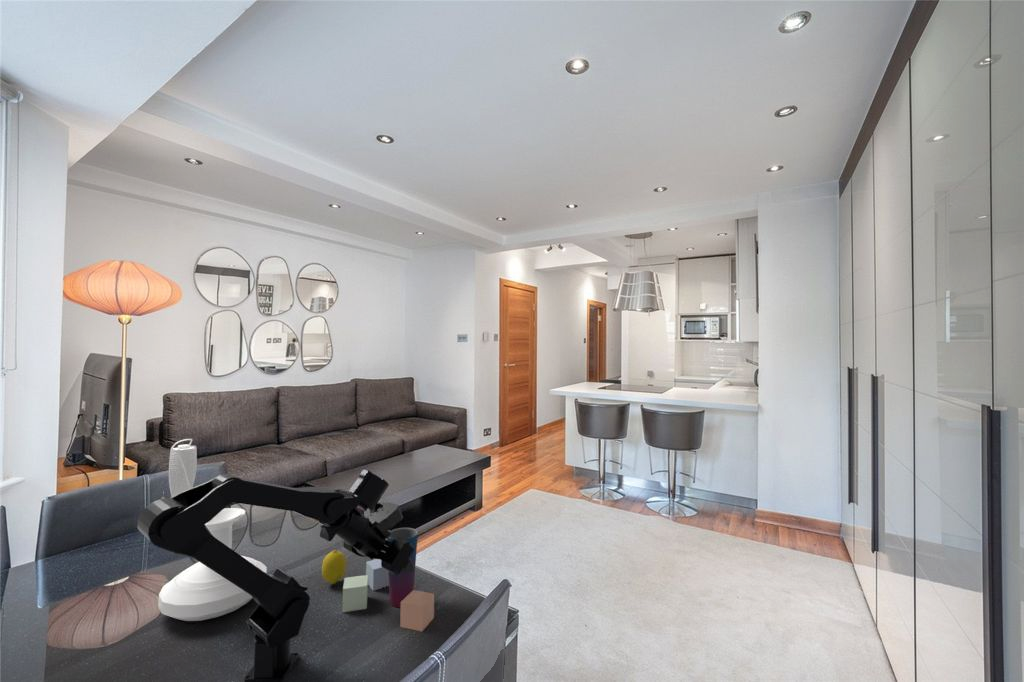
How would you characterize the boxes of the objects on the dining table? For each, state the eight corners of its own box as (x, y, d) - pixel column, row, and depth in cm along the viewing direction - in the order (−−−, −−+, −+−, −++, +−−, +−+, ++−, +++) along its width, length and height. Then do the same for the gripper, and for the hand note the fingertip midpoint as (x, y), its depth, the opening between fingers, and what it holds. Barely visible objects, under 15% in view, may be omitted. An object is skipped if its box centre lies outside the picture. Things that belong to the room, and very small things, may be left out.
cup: (383, 596, 99) (384, 530, 100) (413, 590, 102) (414, 525, 103) (388, 612, 93) (389, 541, 94) (419, 605, 96) (420, 536, 97)
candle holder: (135, 639, 84) (140, 538, 85) (183, 587, 103) (187, 505, 104) (251, 623, 89) (254, 528, 90) (276, 576, 108) (279, 498, 109)
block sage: (366, 609, 95) (367, 585, 95) (342, 612, 93) (342, 589, 93) (367, 597, 99) (367, 574, 100) (344, 600, 98) (344, 577, 98)
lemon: (337, 591, 102) (338, 556, 102) (316, 588, 103) (317, 554, 103) (350, 579, 107) (351, 546, 108) (330, 577, 108) (331, 544, 109)
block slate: (393, 584, 105) (393, 563, 105) (373, 591, 102) (373, 569, 102) (385, 576, 109) (386, 556, 109) (365, 582, 106) (366, 561, 106)
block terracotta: (422, 632, 87) (422, 606, 87) (400, 627, 88) (400, 602, 89) (433, 618, 92) (434, 593, 92) (413, 613, 93) (413, 589, 93)
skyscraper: (172, 524, 142) (176, 438, 143) (200, 523, 143) (203, 437, 145) (156, 534, 134) (160, 443, 135) (185, 533, 135) (189, 442, 136)
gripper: (407, 503, 88) (447, 541, 96) (356, 486, 100) (395, 521, 108) (372, 557, 82) (418, 592, 90) (323, 532, 94) (367, 565, 102)
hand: (399, 564), depth 98 cm, fingers open, 9 cm apart
